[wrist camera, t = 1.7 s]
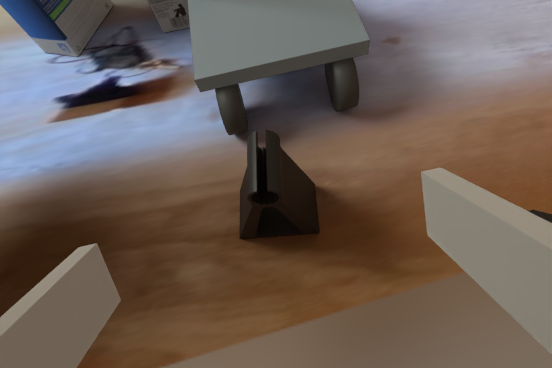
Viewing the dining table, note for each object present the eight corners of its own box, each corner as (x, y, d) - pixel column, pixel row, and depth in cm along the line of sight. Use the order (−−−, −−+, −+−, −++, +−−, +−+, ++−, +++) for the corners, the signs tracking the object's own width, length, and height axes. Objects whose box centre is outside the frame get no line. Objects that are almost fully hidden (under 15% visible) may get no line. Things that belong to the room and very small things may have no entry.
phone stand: (315, 185, 40) (311, 125, 30) (319, 233, 38) (317, 186, 27) (240, 191, 41) (211, 135, 31) (240, 239, 39) (208, 195, 28)
